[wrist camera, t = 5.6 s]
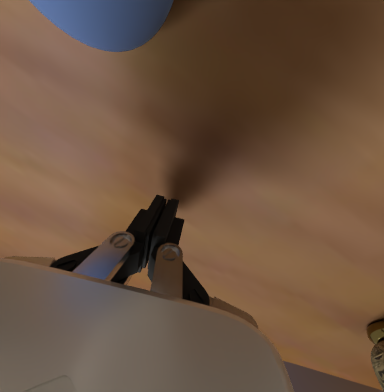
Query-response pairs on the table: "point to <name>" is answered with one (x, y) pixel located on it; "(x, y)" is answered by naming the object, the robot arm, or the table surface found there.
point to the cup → (377, 349)
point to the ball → (107, 20)
